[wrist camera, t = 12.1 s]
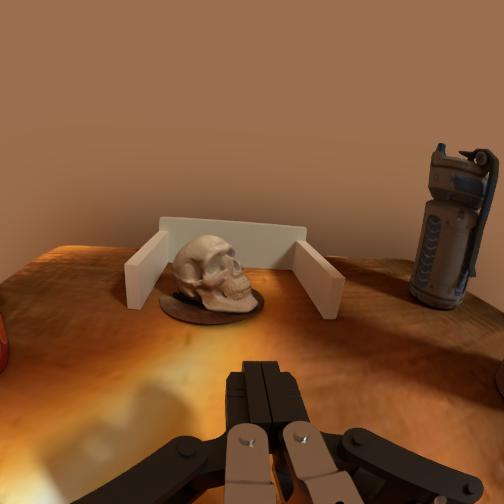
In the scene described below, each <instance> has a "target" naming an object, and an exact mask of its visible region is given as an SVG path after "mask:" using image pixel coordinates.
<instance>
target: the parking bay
mask: <svg viewBox="0 0 504 504" xmlns="http://www.w3.org/2000/svg"><path fill="white" fill-rule="evenodd" d="M306 232H307V229H306V228H305V227H298V226H287V225H275V224H264V223H251V222H239V221H225V220H211V219H195V218H179V217H160V222H159V232H158V233H157V234H155V235H154V236H153V237H152V238H151V239H150V240H149V241H148V242H147V243H146V244H145V245H144V246H143V247H142V248H141V249H140V250H139V251H138V252H137V253H136V254H135V255H133V256H132V257H131V258H130V259H129V260H128V261H127V262H126V263H125V264H124V265H125V281H126V294H127V305H128V308H129V309H138V310H141V308H142V307H143V305H144V303H145V301H146V299H147V298H148V296H149V294H150V292H151V291H152V289H153V287H154V285H155V284H156V282H157V280H158V278H159V277H160V275H161V273H162V272H163V270H164V268H165V267H166V265H167V263H168V262H171V263H173V261H174V258H175V256H176V255H177V253H178V252H179V250H180V249H181V248H182V247H183V246H184V245H186V244H187V243H188V242H190V241H191V240H193V239H195V238H197V237H200V236H203V235H212V236H217V237H220V238H222V239H223V240H225V241H226V242H227V243H228V244H230V245H231V246H232V247H233V248H234V249H235V257H236V260H237V261H239V262H240V263H242V265H243V267H244V268H261V269H278V270H292V271H293V272H294V274H295V275H296V277H297V278H298V280H299V281H300V283H301V285H302V286H303V288H304V289H305V291H306V292H307V294H308V295H309V297H310V298H311V300H312V301H313V303H314V304H315V306H316V308H317V309H318V311H319V312H320V314H321V315H322V317H323V318H324V319H336V317H337V313H338V309H339V305H340V300H341V296H342V292H343V287H344V283H345V277H344V276H343V275H342V274H341V273H339V272H338V271H337V270H336V269H335V268H334V267H333V266H332V265H331V264H330V263H329V262H328V261H327V260H325V259H324V258H323V257H322V256H321V255H320V254H319V253H318V252H317V251H316V250H315V249H313V248H312V247H311V246H310V245H309V244H308V243H307V242H306Z"/></svg>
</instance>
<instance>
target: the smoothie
mask: <svg viewBox="0 0 504 504" xmlns="http://www.w3.org/2000/svg"><path fill="white" fill-rule="evenodd" d="M7 350H8V339H7V336H6V332H5V329H4V325H3V321H2V317H1V312H0V373H1V372H2V371H3V369H4V368H5V366H6V364H7V362H8V354H7Z"/></svg>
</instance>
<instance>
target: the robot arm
mask: <svg viewBox="0 0 504 504" xmlns="http://www.w3.org/2000/svg"><path fill="white" fill-rule="evenodd" d="M496 384H497V387H498V389H499V391H500V393H501V394H502V396H503V397H504V360H503V361H502V363H501V365H500V367H499V369H498V371H497V373H496ZM225 418H226V431H225V433H224V434H223V435H221V436H220V437H218V438H216V439H213V440H208V441H203V442H202V441H201V440H200V439H198V438H195V437H192V436H179V437H176V438H174V439H172V440H171V441H169V442H168V443H167V444H165V445H164V446H163V447H161V448H160V449H158V450H157V451H156V452H154V453H153V454H151V455H150V456H148V457H147V458H145V459H144V460H142V461H141V462H140V463H138V464H137V465H135V466H133V467H132V468H130V469H129V470H127V471H126V472H124V473H123V474H121V475H119V476H118V477H116V478H115V479H113V480H111V481H110V482H108V483H106V484H105V485H103V486H101V487H100V488H98V489H96V490H94V491H93V492H91V493H89V494H87V495H85V496H84V497H82V498H80V499H78V500H76V501H74V502H72V503H70V504H192V503H193V502H194V501H195V500H196V499H197V498H199V497H200V496H201V495H202V494H203V493H204V492H205V491H206V490H207V489H210V488H215V487H219V486H223V485H224V503H223V504H276V494H275V487H274V484H273V483H272V482H271V476H270V462H269V454H272V456H273V463H272V472H273V476H274V479H275V483H276V486H277V490H278V493H279V496H280V500H281V504H474V503H475V502H477V501H478V500H479V499H480V498H481V497H482V495H483V491H484V487H483V484H482V482H481V480H480V479H478V478H477V477H474V476H471V475H468V474H466V473H463V472H460V471H457V470H455V469H452V468H449V467H447V466H444V465H442V464H439V463H437V462H434V461H432V460H429V459H427V458H425V457H422V456H420V455H418V454H416V453H413V452H411V451H409V450H407V449H405V448H403V447H400V446H398V445H396V444H394V443H392V442H390V441H388V440H386V439H384V438H382V437H380V436H378V435H376V434H374V433H372V432H370V431H368V430H366V429H363V428H352V429H349V430H347V431H346V432H345V433H344V434H343V435H336V434H328V433H324V432H321V431H319V430H318V428H317V427H316V426H315V425H313V424H311V423H310V421H309V418H308V415H307V412H306V409H305V406H304V403H303V400H302V397H301V394H300V391H299V389H298V385H297V382H296V379H295V378H294V377H293V376H292V375H291V374H290V373H289V372H280V369H279V365H278V362H277V361H243V362H242V371H241V372H231V373H230V374H229V376H228V378H227V379H226V394H225Z"/></svg>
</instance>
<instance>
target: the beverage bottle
mask: <svg viewBox="0 0 504 504" xmlns="http://www.w3.org/2000/svg"><path fill="white" fill-rule="evenodd" d="M445 147H446V145H445V144H443V143H439V144H438V146H437V149H436V151H435V152H433V154H432V156H431V164H430V174H429V185H428V187H429V190H430V193H431V195H432V197H433V198H434V199H433V200H430V201H427V202H426V206H425V213H424V218H423V224H422V230H421V235H420V240H419V245H418V249H417V254H416V258H415V262H414V266H413V270H412V274H411V278H410V282H409V287H410V292H411V294H412V295H413V296H414V297H416V298H417V299H418V300H420V301H421V302H423V303H425V304H427V305H429V306H432V307H435V308H440V309H452V308H453V309H454V308H456V307H458V306H459V305H460V304H461V303H462V301H463V298H464V295H465V292H466V289H467V286H468V282H469V279H470V278H471V277H476V272H475V264H476V260H477V256H478V252H479V248H480V243H481V239H482V235H483V230H484V227H485V224H486V221H487V218H488V214H489V211H490V208H491V204H492V200H493V196H494V192H495V188H496V184H497V180H498V172H499V160H498V158H497V157H495V155H494V154H493V153H492V152H491V151H490V150H488V149H476V150H475V151H473V152H467V151H459V153H460V154H461V155H464V156H465V157H468V160H465V159H461V158H456V157H449V156H446V154H445ZM475 158H476V162H477V164H476V163H475V162H474V159H475ZM488 172H489V177H488ZM487 179H488V181H487ZM480 208H481V210H480V213H479V212H478V209H480Z"/></svg>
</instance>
